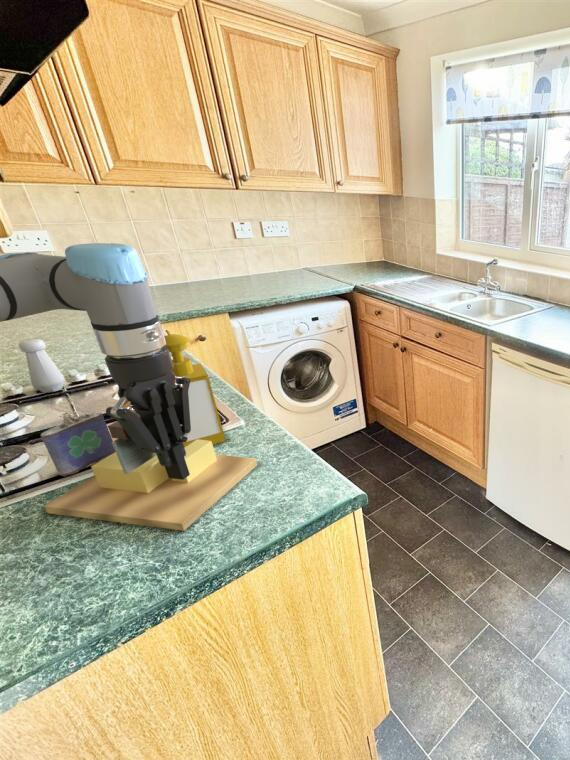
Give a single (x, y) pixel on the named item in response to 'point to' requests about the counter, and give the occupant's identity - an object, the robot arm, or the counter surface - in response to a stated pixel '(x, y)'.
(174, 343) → the soap bottle
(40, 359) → the salt shaker
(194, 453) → the butter pat
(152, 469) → the butter block
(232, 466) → the butter board
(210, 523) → the counter surface
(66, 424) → the flask
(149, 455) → the dough scraper
